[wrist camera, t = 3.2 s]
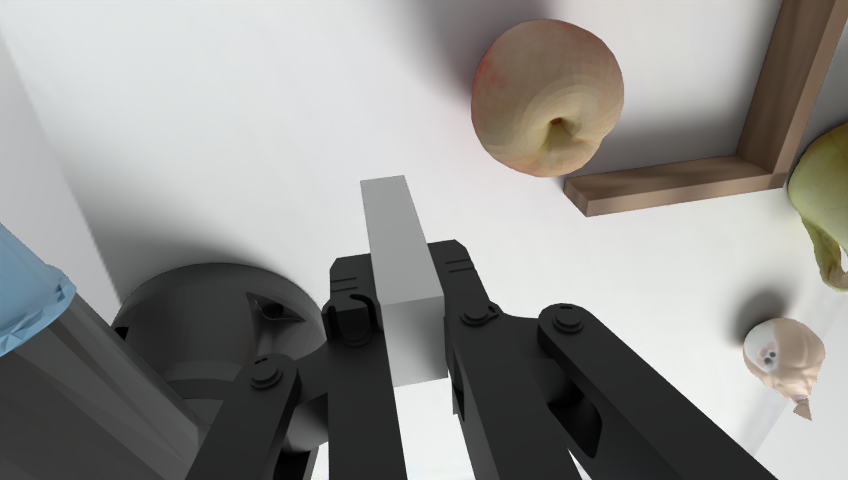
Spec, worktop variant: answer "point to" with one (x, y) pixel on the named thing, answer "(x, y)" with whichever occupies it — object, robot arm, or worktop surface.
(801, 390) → the garlic bulb
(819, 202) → the mug
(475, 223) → the worktop surface
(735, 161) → the wooden frame
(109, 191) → the worktop surface
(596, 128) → the fruit
